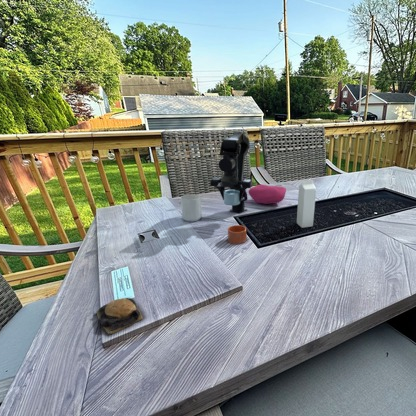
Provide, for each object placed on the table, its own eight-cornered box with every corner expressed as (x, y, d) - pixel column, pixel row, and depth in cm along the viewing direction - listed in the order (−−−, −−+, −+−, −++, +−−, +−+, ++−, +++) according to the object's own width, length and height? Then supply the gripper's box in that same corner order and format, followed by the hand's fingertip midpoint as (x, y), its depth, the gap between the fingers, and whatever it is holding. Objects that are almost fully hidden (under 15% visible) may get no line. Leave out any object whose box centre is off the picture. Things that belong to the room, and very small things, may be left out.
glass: (231, 199, 129) (230, 189, 127) (243, 202, 125) (243, 191, 124) (220, 203, 123) (220, 192, 121) (233, 206, 119) (232, 195, 117)
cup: (236, 234, 113) (235, 223, 111) (249, 238, 110) (249, 227, 108) (224, 240, 107) (223, 229, 105) (238, 245, 103) (238, 234, 102)
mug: (203, 220, 125) (201, 198, 121) (183, 223, 121) (181, 200, 118) (199, 212, 135) (198, 191, 131) (181, 214, 132) (179, 193, 128)
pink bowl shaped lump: (244, 200, 157) (243, 184, 154) (266, 194, 170) (266, 179, 167) (270, 210, 143) (271, 193, 140) (293, 203, 156) (293, 187, 153)
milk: (313, 226, 125) (317, 181, 118) (301, 228, 123) (305, 182, 115) (307, 221, 130) (310, 178, 123) (296, 223, 128) (299, 179, 120)
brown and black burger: (94, 313, 66) (91, 301, 65) (130, 298, 72) (128, 287, 71) (106, 337, 59) (102, 324, 58) (145, 318, 65) (143, 306, 64)
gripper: (204, 169, 111) (206, 204, 116) (247, 172, 110) (247, 207, 116) (213, 165, 122) (214, 197, 127) (252, 167, 121) (252, 199, 126)
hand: (232, 200), depth 124 cm, fingers closed on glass, 7 cm apart
